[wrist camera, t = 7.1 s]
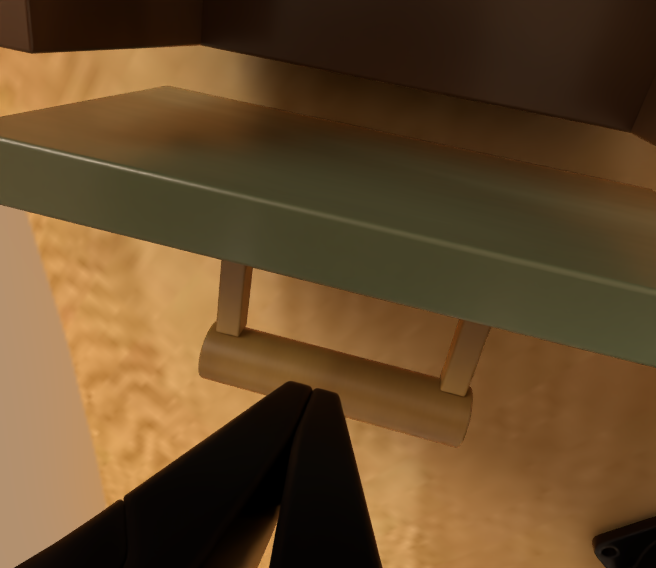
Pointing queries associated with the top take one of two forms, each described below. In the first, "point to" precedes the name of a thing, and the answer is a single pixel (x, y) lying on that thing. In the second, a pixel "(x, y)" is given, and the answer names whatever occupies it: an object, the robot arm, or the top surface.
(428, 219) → the drawer
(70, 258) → the top surface
